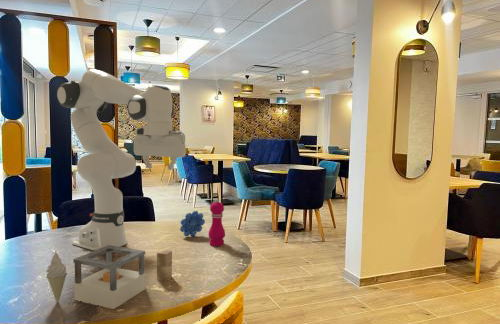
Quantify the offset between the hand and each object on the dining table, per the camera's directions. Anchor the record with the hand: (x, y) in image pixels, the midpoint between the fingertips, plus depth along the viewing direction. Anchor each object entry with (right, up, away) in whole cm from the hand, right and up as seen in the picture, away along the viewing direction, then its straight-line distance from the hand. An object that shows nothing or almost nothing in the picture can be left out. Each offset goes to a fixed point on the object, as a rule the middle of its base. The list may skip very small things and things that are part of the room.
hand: (159, 168), depth 132 cm
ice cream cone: (-21, -37, -30) cm, 52 cm away
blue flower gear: (+6, -32, +38) cm, 50 cm away
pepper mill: (+18, -33, +26) cm, 46 cm away
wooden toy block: (+5, -36, -12) cm, 38 cm away
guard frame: (-8, -32, -24) cm, 41 cm away
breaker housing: (-8, -37, -24) cm, 45 cm away
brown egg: (-8, -36, -24) cm, 44 cm away
